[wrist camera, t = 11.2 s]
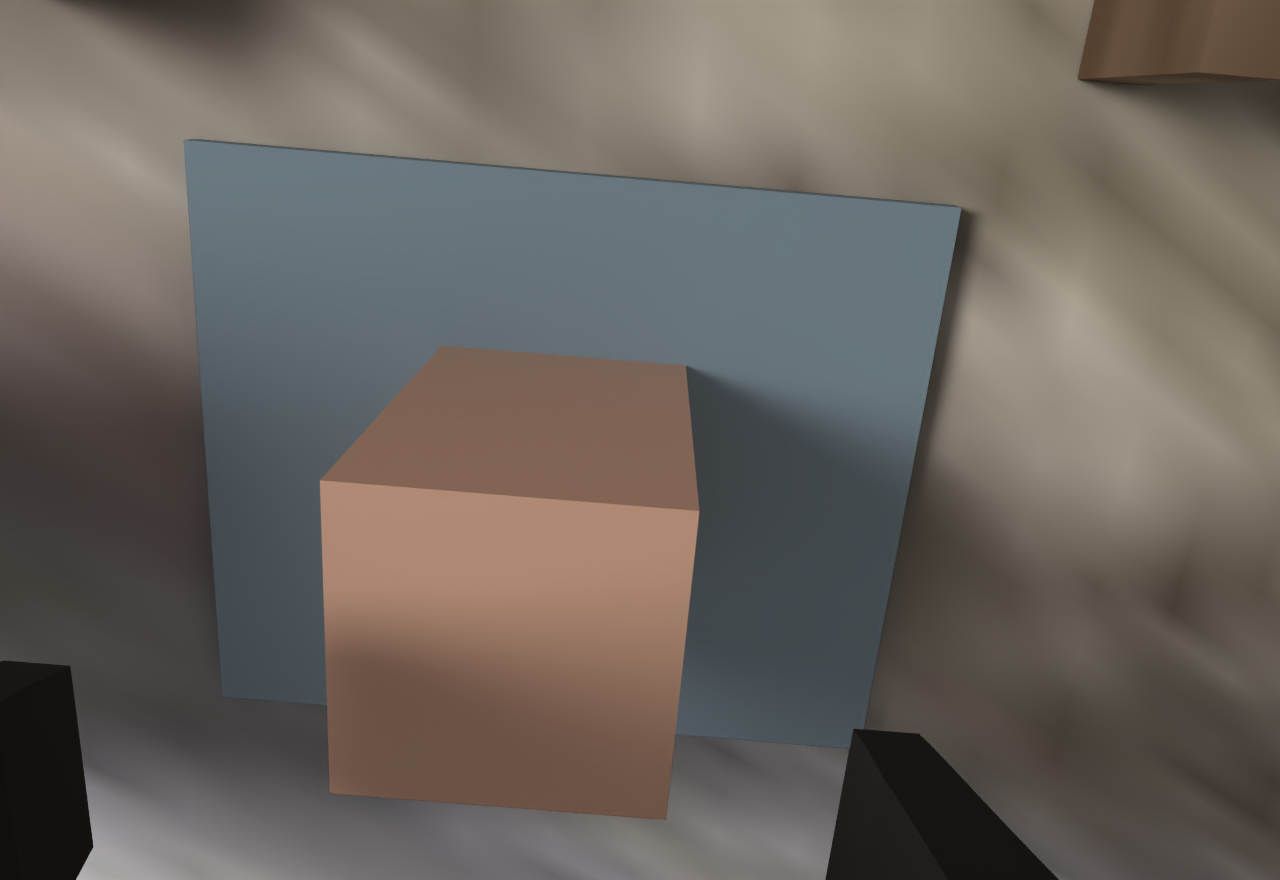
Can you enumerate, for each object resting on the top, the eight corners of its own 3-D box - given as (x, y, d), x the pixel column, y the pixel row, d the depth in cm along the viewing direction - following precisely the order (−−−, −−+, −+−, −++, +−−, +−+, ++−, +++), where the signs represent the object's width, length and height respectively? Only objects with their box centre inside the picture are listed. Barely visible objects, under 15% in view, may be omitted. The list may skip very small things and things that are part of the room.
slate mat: (231, 684, 19) (222, 696, 18) (195, 139, 15) (183, 139, 15) (855, 736, 19) (859, 749, 18) (954, 204, 15) (961, 207, 15)
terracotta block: (439, 565, 17) (329, 793, 12) (442, 345, 16) (320, 479, 10) (664, 583, 17) (666, 820, 12) (685, 365, 16) (698, 511, 10)
